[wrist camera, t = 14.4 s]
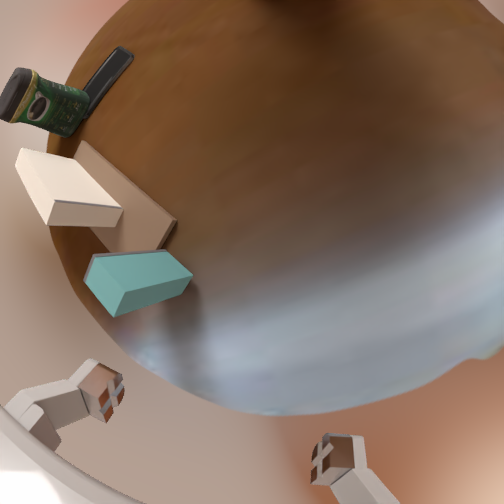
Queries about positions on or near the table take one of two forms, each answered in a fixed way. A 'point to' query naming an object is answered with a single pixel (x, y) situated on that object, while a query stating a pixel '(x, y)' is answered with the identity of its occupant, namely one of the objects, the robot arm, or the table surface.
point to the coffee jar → (42, 103)
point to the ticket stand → (93, 199)
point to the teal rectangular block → (135, 279)
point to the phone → (106, 76)
